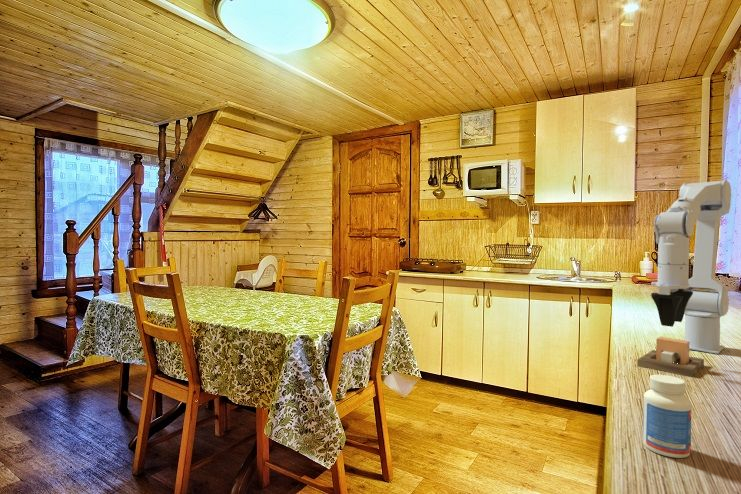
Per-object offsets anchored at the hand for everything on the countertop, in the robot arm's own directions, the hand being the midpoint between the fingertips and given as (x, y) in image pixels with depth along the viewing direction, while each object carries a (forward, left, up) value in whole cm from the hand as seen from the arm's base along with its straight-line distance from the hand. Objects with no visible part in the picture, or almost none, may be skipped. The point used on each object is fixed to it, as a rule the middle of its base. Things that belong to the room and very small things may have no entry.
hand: (671, 323), depth 95 cm
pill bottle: (+46, +9, -10) cm, 48 cm away
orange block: (0, 0, -9) cm, 9 cm away
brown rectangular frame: (0, 0, -10) cm, 10 cm away
